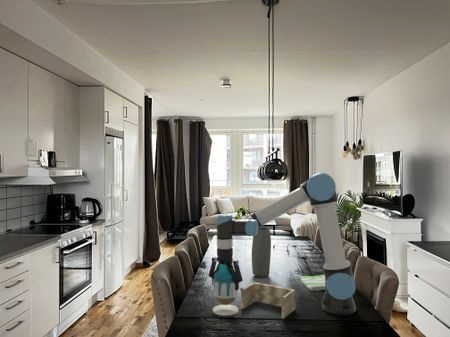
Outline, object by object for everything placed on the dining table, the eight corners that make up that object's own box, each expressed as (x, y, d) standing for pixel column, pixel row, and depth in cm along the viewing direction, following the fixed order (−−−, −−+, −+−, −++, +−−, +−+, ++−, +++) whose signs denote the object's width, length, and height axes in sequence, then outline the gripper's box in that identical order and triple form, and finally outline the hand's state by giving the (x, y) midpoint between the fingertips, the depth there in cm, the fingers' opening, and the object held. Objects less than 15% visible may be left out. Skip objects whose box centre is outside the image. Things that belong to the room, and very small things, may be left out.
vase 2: (257, 272, 226) (257, 226, 227) (274, 275, 219) (273, 227, 220) (247, 276, 216) (247, 228, 217) (265, 280, 209) (264, 230, 210)
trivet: (243, 308, 165) (243, 307, 165) (229, 317, 155) (229, 316, 155) (222, 303, 171) (222, 302, 171) (207, 312, 162) (207, 310, 162)
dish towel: (310, 292, 189) (310, 285, 189) (297, 279, 212) (297, 273, 212) (340, 291, 190) (340, 284, 190) (325, 278, 213) (325, 272, 213)
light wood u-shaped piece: (295, 309, 164) (295, 288, 164) (283, 319, 152) (282, 296, 153) (254, 300, 176) (254, 280, 176) (240, 308, 165) (240, 288, 165)
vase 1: (214, 299, 169) (214, 260, 169) (236, 299, 168) (236, 260, 169) (213, 308, 158) (213, 266, 158) (236, 308, 158) (236, 265, 158)
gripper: (249, 248, 160) (250, 296, 160) (209, 243, 173) (210, 288, 173) (241, 251, 154) (242, 301, 154) (200, 246, 167) (201, 292, 167)
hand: (225, 294), depth 163 cm, fingers closed on vase 1, 10 cm apart
